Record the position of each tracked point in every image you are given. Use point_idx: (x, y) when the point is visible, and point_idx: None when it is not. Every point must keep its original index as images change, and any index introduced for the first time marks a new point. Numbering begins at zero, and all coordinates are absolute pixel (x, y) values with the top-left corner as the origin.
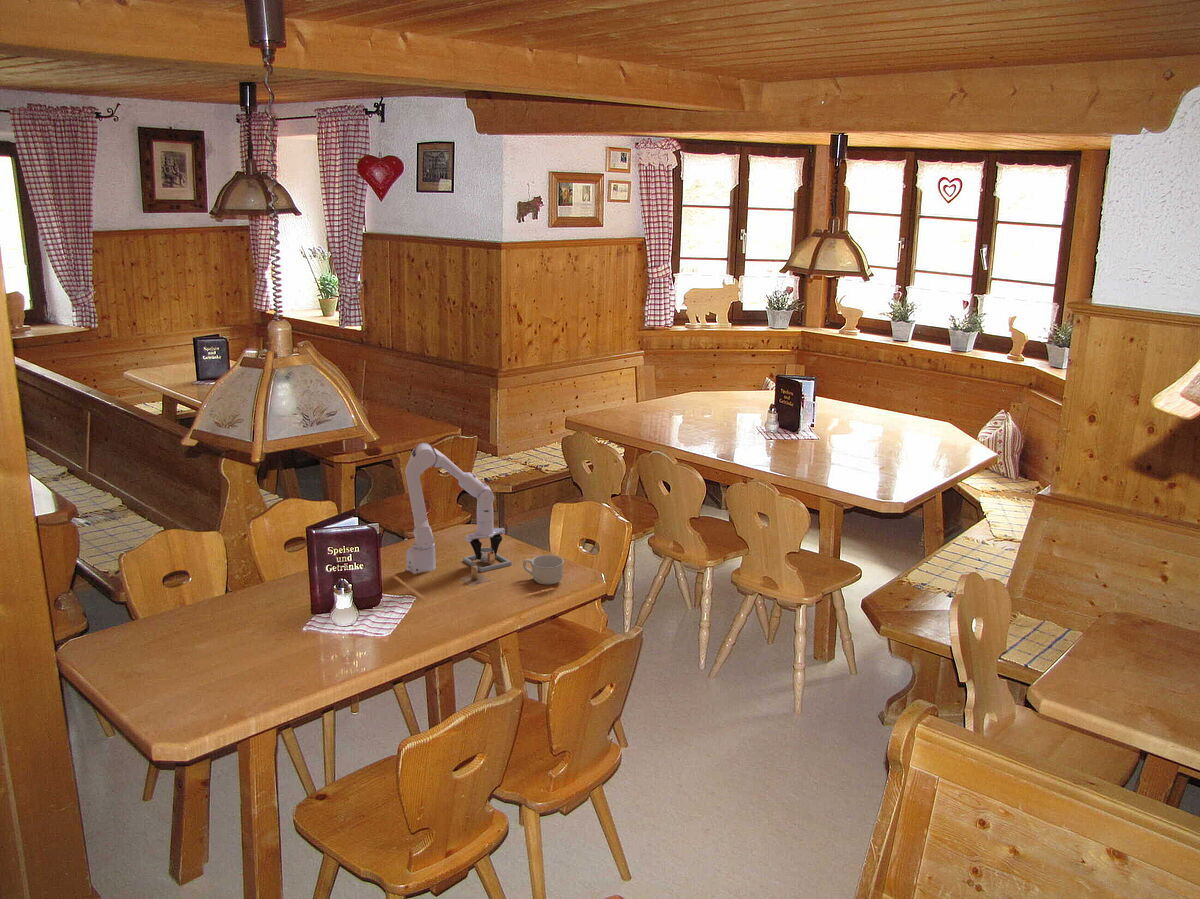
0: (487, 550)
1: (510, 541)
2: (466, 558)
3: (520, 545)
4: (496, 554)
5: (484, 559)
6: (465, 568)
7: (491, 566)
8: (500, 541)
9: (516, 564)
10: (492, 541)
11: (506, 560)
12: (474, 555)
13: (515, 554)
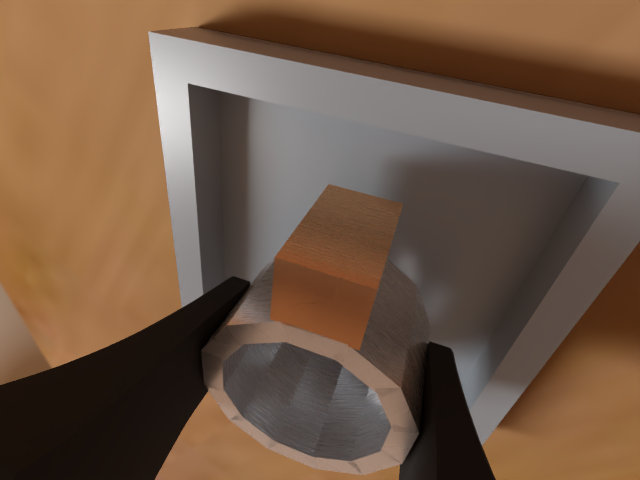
0: (261, 389)
1: (55, 361)
2: None
3: (17, 298)
4: None
5: (407, 305)
6: (568, 363)
7: (484, 101)
8: (18, 384)
9: (125, 54)
10: (138, 463)
11: (187, 119)
12: None
13: (72, 234)
